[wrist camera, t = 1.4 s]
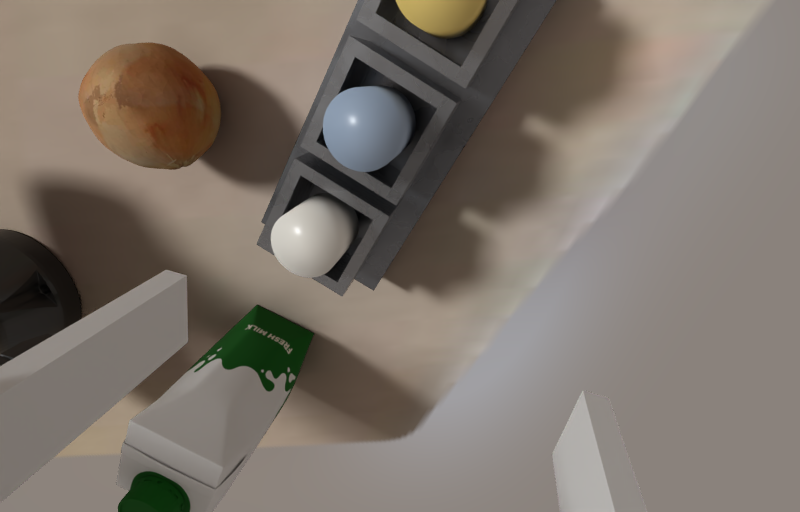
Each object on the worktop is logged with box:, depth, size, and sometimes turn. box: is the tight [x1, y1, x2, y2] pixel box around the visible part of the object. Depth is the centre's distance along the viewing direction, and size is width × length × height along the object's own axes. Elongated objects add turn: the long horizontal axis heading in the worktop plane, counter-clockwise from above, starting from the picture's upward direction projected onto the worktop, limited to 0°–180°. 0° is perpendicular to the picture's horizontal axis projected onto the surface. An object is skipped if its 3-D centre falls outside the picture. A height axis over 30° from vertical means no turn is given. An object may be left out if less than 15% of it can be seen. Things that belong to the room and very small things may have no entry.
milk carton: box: [116, 305, 314, 512], centre depth 39 cm, size 9×9×20 cm
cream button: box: [271, 193, 359, 278], centre depth 32 cm, size 5×5×5 cm
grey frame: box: [257, 0, 556, 296], centre depth 33 cm, size 12×28×8 cm, turn 150°
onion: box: [79, 43, 221, 169], centre depth 35 cm, size 10×10×10 cm
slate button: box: [323, 85, 416, 172], centre depth 29 cm, size 5×5×5 cm
